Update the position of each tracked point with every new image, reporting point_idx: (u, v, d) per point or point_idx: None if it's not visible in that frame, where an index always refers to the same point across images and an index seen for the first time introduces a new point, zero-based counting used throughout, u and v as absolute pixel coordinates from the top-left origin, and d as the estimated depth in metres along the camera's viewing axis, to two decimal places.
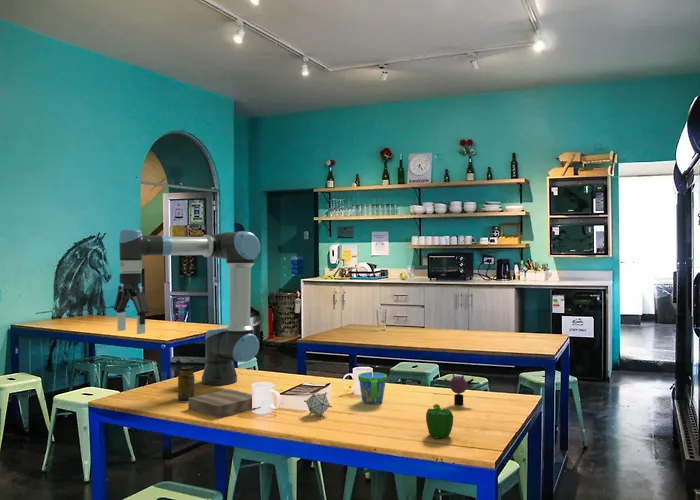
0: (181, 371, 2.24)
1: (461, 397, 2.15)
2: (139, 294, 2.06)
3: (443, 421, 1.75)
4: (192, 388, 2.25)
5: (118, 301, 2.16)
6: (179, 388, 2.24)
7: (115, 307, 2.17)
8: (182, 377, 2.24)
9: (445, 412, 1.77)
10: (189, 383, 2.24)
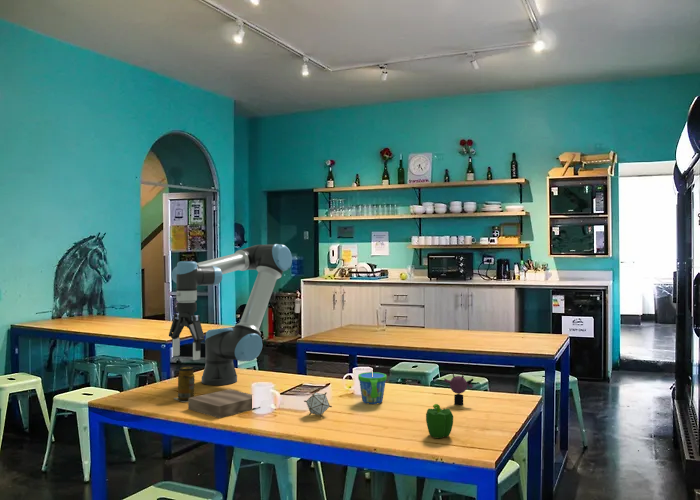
0: (181, 371, 2.24)
1: (461, 397, 2.15)
2: (195, 322, 2.21)
3: (443, 421, 1.75)
4: (192, 388, 2.25)
5: (173, 328, 2.30)
6: (179, 388, 2.24)
7: (170, 333, 2.31)
8: (182, 377, 2.24)
9: (445, 412, 1.77)
10: (189, 383, 2.24)
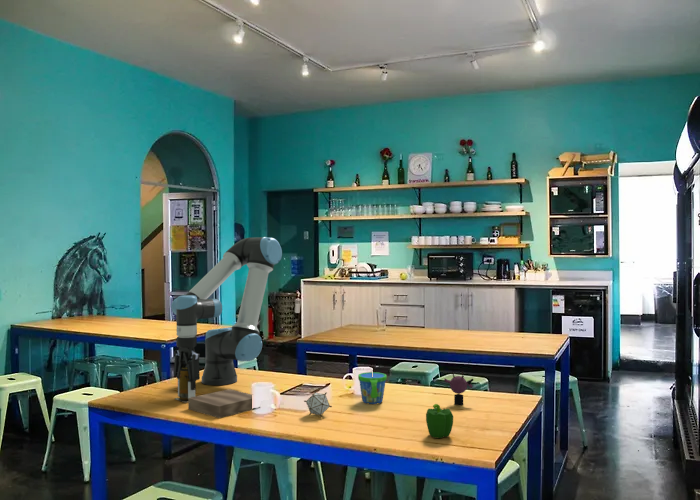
0: (182, 371, 2.24)
1: (461, 397, 2.15)
2: (194, 361, 2.21)
3: (443, 421, 1.75)
4: None
5: (177, 366, 2.29)
6: (180, 388, 2.24)
7: (175, 372, 2.29)
8: (183, 377, 2.23)
9: (445, 412, 1.77)
10: None
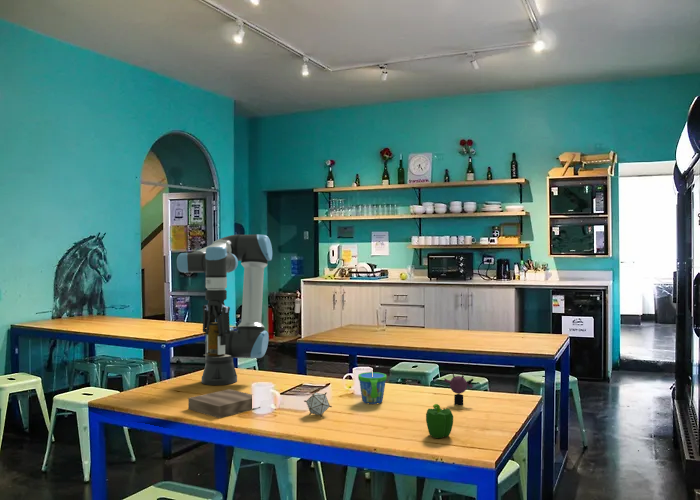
0: (211, 325, 2.13)
1: (461, 397, 2.15)
2: (224, 315, 2.10)
3: (444, 421, 1.75)
4: None
5: (205, 321, 2.17)
6: (209, 343, 2.12)
7: (204, 328, 2.17)
8: (212, 332, 2.12)
9: (445, 412, 1.77)
10: None
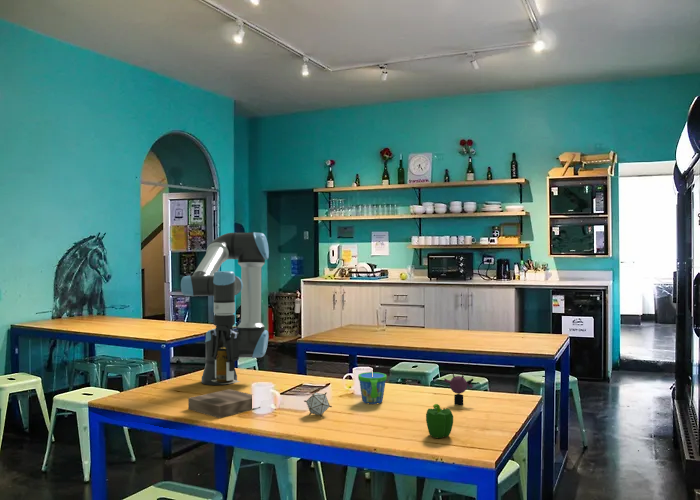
0: (220, 351, 2.10)
1: (461, 397, 2.15)
2: (233, 340, 2.08)
3: (444, 421, 1.75)
4: None
5: (213, 346, 2.15)
6: (218, 369, 2.10)
7: (212, 353, 2.15)
8: (221, 357, 2.09)
9: (445, 412, 1.77)
10: None
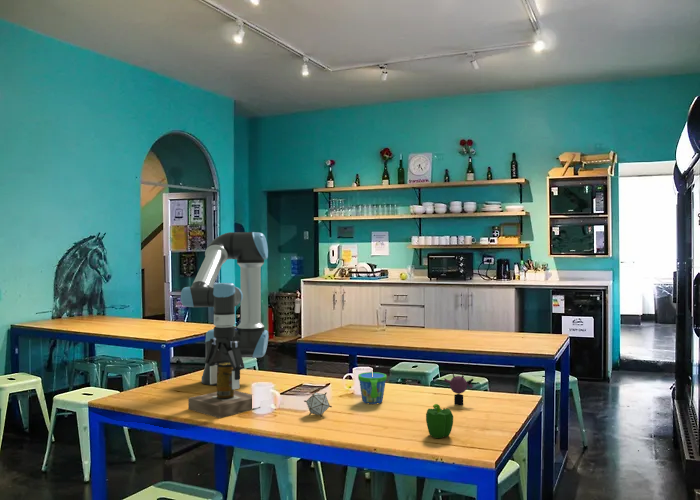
0: (220, 367, 2.10)
1: (461, 397, 2.15)
2: (235, 349, 2.07)
3: (443, 421, 1.75)
4: None
5: (210, 354, 2.16)
6: (218, 385, 2.10)
7: (207, 360, 2.17)
8: (221, 374, 2.09)
9: (445, 412, 1.77)
10: (229, 380, 2.10)
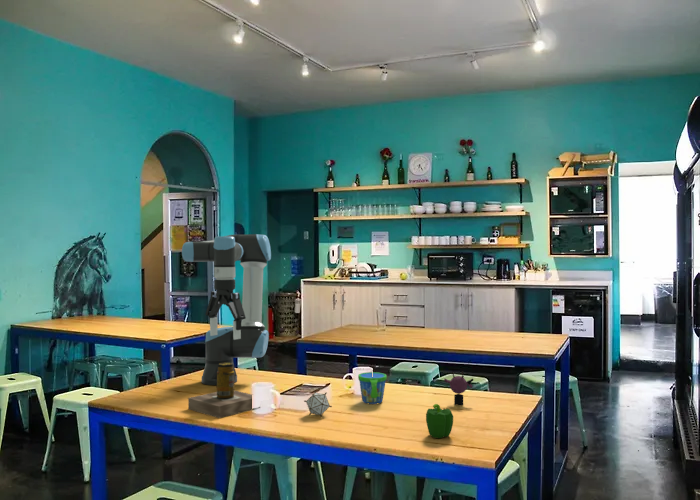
0: (220, 367, 2.10)
1: (461, 397, 2.15)
2: (235, 300, 2.10)
3: (444, 421, 1.75)
4: (232, 385, 2.11)
5: (210, 306, 2.19)
6: (218, 385, 2.10)
7: (207, 312, 2.20)
8: (221, 374, 2.09)
9: (445, 412, 1.77)
10: (229, 380, 2.10)
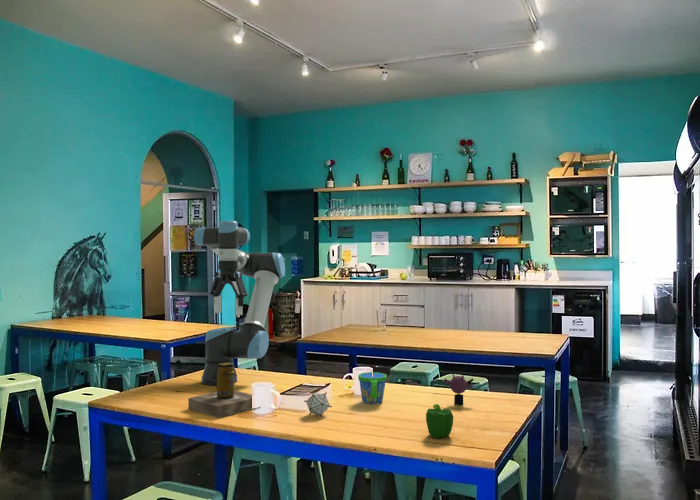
0: (220, 367, 2.10)
1: (461, 397, 2.15)
2: (238, 279, 2.28)
3: (443, 421, 1.75)
4: (232, 385, 2.11)
5: (215, 286, 2.38)
6: (218, 385, 2.10)
7: (212, 291, 2.38)
8: (221, 374, 2.09)
9: (445, 412, 1.77)
10: (229, 380, 2.10)
